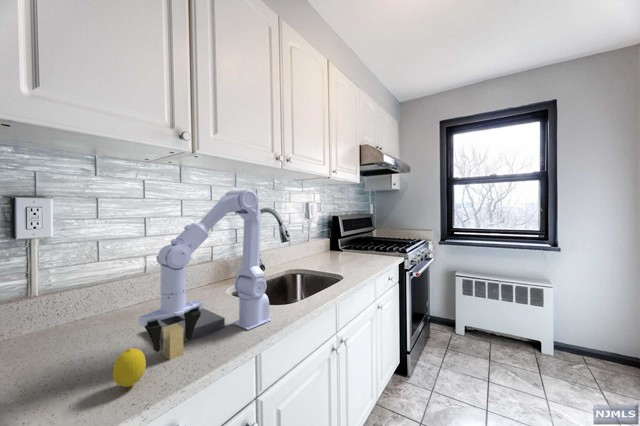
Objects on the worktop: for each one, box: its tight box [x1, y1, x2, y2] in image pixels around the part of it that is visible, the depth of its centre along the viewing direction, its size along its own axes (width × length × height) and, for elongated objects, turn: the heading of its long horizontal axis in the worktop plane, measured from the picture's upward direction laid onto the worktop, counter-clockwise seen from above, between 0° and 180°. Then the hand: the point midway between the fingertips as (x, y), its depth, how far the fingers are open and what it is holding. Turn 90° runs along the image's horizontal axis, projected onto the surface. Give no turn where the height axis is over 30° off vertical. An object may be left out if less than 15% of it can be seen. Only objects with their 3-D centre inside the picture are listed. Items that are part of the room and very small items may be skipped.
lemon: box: [112, 347, 147, 388], centre depth 54 cm, size 6×6×8 cm
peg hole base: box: [158, 307, 226, 344], centre depth 81 cm, size 16×16×3 cm
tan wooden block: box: [162, 323, 184, 361], centre depth 66 cm, size 3×4×7 cm
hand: (173, 344), depth 66 cm, fingers open, 7 cm apart
